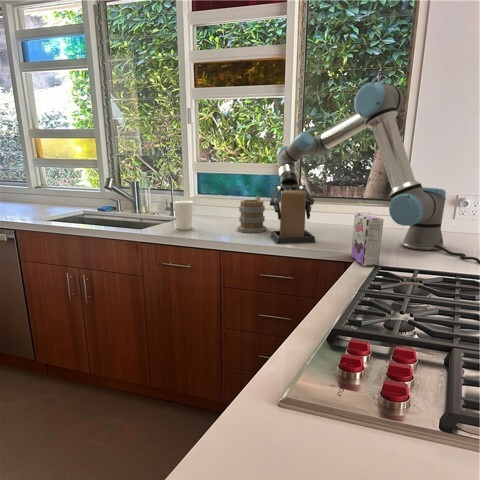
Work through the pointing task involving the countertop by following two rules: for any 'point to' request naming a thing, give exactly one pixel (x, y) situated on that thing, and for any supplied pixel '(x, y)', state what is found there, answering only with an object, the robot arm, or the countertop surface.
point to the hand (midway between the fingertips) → (294, 217)
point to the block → (293, 213)
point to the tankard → (252, 216)
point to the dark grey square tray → (293, 238)
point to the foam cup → (184, 214)
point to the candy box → (367, 238)
